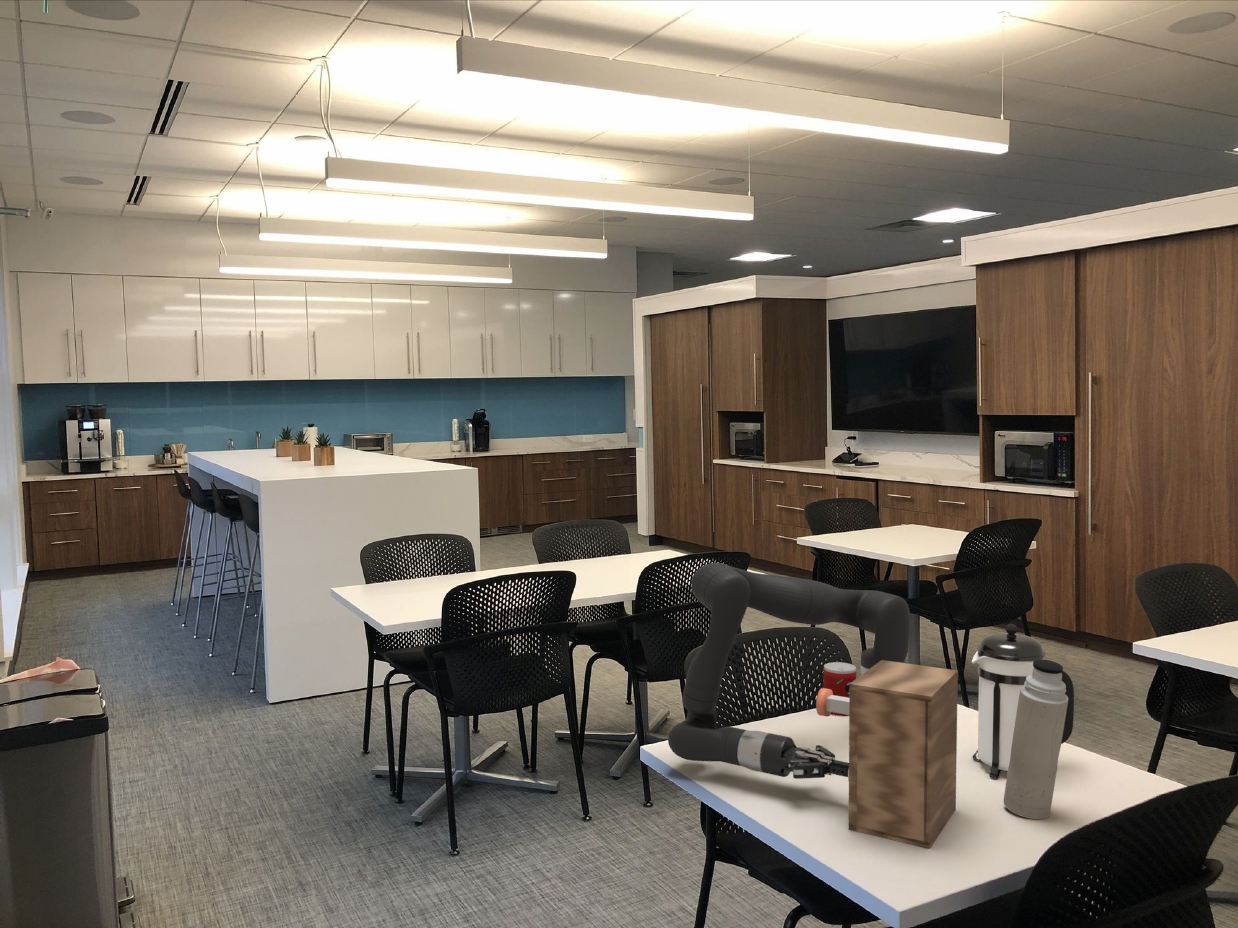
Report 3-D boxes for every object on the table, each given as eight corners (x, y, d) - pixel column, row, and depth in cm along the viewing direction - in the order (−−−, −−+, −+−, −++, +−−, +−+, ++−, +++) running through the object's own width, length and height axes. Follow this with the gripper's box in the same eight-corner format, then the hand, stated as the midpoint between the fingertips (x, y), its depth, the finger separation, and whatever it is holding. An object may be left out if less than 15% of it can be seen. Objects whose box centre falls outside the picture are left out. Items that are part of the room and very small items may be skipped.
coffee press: (1031, 791, 185) (1034, 637, 183) (955, 767, 197) (957, 622, 195) (1073, 769, 196) (1077, 623, 194) (999, 747, 208) (1002, 610, 206)
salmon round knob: (816, 718, 179) (816, 691, 178) (825, 710, 183) (825, 684, 182) (888, 731, 171) (888, 703, 171) (896, 723, 176) (897, 696, 175)
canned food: (838, 718, 228) (838, 672, 228) (816, 708, 235) (816, 664, 235) (863, 713, 232) (863, 668, 231) (841, 704, 239) (841, 660, 238)
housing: (848, 829, 170) (849, 683, 168) (880, 793, 185) (881, 659, 183) (929, 848, 162) (931, 696, 160) (955, 809, 177) (957, 670, 175)
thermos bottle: (1044, 799, 180) (1066, 658, 174) (1054, 822, 172) (1078, 675, 167) (999, 792, 181) (1020, 652, 176) (1007, 815, 174) (1029, 669, 168)
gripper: (751, 744, 182) (840, 762, 172) (780, 723, 193) (864, 740, 183) (751, 782, 182) (840, 803, 173) (779, 760, 193) (864, 778, 184)
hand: (852, 770), depth 178 cm, fingers closed
